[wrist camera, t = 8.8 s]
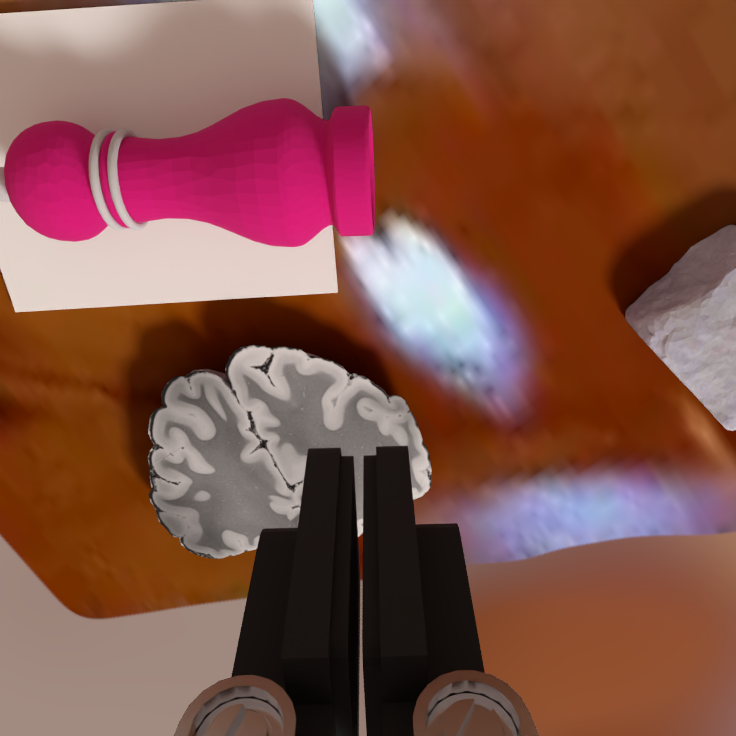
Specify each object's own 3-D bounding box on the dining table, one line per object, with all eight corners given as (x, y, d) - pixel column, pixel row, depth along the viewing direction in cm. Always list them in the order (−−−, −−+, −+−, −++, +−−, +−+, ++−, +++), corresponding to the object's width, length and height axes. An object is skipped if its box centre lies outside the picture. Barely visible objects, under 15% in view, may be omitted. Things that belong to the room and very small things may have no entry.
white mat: (-81, 19, 33) (-87, 19, 32) (312, -7, 33) (311, -8, 32) (19, 309, 41) (15, 312, 40) (337, 289, 40) (337, 292, 40)
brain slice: (359, 280, 40) (359, 299, 38) (449, 478, 48) (455, 505, 46) (92, 390, 44) (76, 414, 41) (217, 558, 51) (209, 588, 49)
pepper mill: (372, 100, 35) (12, 114, 36) (367, 87, 28) (-78, 105, 29) (376, 235, 37) (38, 246, 38) (372, 254, 30) (-41, 266, 31)
